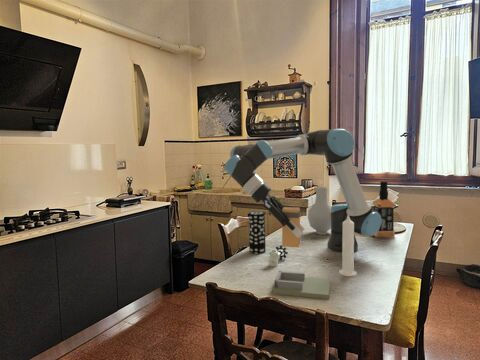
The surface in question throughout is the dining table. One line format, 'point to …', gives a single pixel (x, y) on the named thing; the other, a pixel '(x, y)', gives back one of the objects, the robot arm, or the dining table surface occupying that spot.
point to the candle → (348, 249)
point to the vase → (320, 212)
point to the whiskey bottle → (385, 213)
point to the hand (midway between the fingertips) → (301, 233)
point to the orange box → (287, 235)
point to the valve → (276, 255)
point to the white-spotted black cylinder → (257, 232)
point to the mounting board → (301, 285)
